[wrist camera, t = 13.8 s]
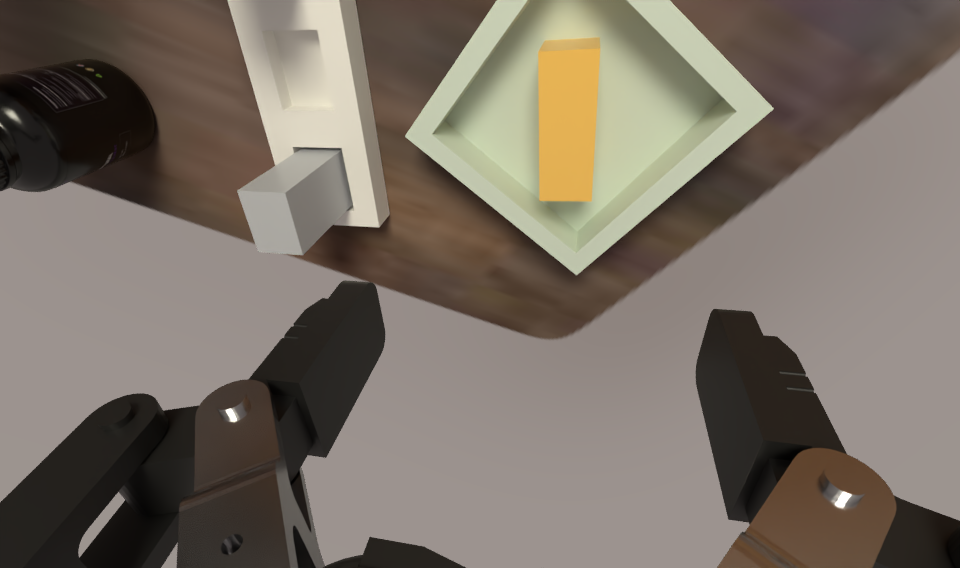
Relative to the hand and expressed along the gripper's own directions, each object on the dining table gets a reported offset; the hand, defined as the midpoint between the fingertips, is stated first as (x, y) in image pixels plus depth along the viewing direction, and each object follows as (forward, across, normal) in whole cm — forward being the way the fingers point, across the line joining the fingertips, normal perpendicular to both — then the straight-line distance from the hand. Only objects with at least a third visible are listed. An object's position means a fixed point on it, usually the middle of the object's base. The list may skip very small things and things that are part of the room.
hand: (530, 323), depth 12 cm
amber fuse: (+19, 0, +4) cm, 20 cm away
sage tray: (+22, 0, 0) cm, 22 cm away
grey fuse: (+21, +16, +5) cm, 27 cm away
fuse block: (+22, +16, -2) cm, 28 cm away
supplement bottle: (+22, +34, 0) cm, 40 cm away
